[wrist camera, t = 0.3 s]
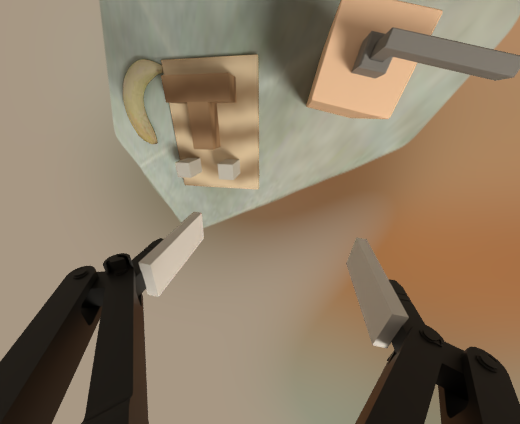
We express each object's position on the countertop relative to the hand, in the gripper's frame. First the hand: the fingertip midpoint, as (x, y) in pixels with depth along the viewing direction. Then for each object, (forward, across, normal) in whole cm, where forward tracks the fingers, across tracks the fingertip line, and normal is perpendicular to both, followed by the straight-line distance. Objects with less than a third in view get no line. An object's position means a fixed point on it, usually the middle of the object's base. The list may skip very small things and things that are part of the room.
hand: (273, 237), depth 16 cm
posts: (+26, -16, -2) cm, 31 cm away
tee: (+26, -17, +8) cm, 32 cm away
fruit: (+28, -30, +9) cm, 42 cm away
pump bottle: (+27, +8, +14) cm, 32 cm away
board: (+27, -16, +5) cm, 32 cm away
